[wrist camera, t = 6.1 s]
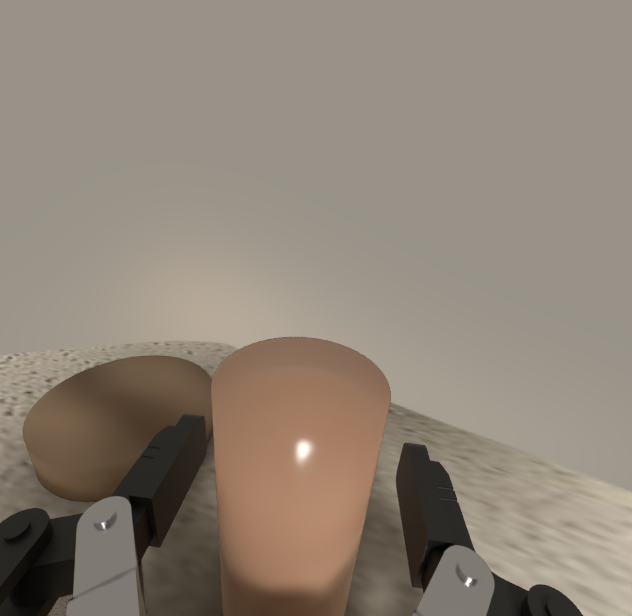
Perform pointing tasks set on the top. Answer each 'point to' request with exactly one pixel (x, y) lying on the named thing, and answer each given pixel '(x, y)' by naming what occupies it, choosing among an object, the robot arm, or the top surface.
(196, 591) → the top surface
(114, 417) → the brown disc
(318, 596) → the tan rounded post
